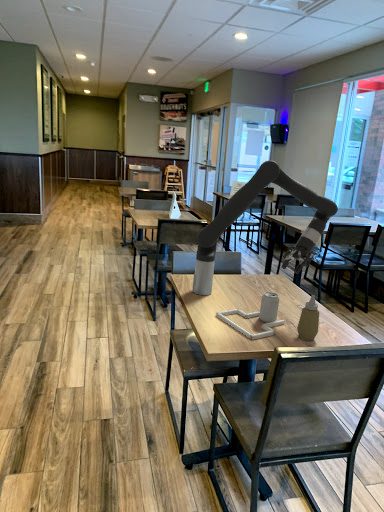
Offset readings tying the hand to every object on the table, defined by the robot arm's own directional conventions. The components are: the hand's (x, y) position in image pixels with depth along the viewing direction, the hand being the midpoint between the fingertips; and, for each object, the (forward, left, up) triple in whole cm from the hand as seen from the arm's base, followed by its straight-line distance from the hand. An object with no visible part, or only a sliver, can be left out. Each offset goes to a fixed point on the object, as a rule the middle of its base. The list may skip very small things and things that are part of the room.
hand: (289, 270), depth 171 cm
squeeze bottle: (+10, -21, -21) cm, 31 cm away
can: (-6, -10, -21) cm, 24 cm away
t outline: (-11, -15, -21) cm, 28 cm away
